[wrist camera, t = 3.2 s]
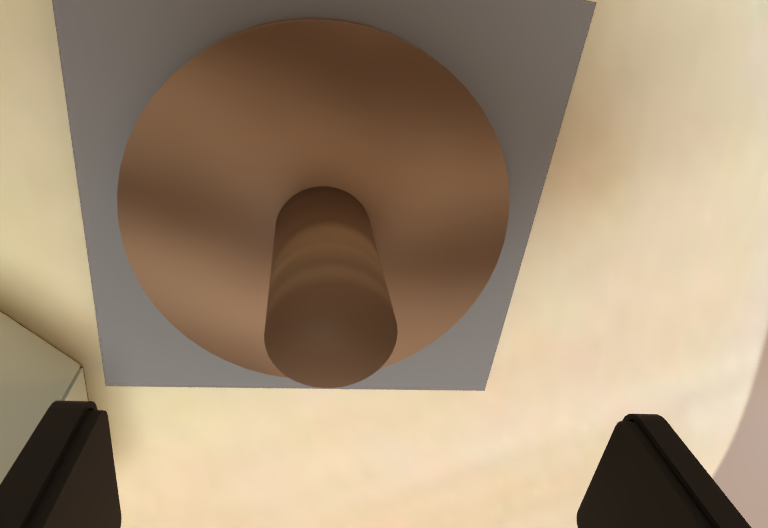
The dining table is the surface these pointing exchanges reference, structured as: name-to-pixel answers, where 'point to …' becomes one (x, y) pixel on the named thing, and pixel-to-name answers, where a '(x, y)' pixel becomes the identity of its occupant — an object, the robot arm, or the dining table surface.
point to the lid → (313, 200)
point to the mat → (272, 3)
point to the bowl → (30, 386)
